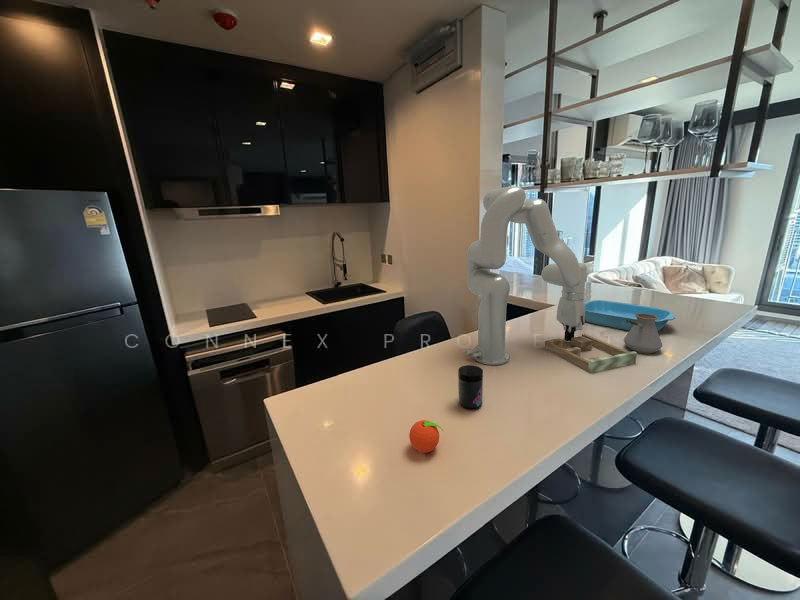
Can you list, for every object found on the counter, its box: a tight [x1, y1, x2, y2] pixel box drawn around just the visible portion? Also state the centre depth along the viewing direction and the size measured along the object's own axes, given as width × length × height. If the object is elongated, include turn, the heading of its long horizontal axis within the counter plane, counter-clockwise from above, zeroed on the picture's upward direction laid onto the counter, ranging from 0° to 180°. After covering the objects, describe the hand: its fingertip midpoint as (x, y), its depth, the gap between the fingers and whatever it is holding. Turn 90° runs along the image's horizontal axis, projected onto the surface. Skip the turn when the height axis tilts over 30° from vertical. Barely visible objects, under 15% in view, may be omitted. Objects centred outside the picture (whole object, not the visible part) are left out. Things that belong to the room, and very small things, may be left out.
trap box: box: [544, 333, 638, 374], centre depth 119 cm, size 19×22×4 cm
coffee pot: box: [622, 314, 663, 354], centre depth 117 cm, size 21×12×15 cm, turn 122°
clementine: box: [408, 419, 444, 454], centre depth 76 cm, size 8×7×7 cm
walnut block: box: [570, 335, 593, 353], centre depth 124 cm, size 5×5×4 cm
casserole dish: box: [585, 299, 677, 332], centre depth 148 cm, size 37×22×7 cm, turn 40°
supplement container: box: [457, 364, 484, 411], centre depth 92 cm, size 7×7×10 cm
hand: (569, 340), depth 130 cm, fingers closed
